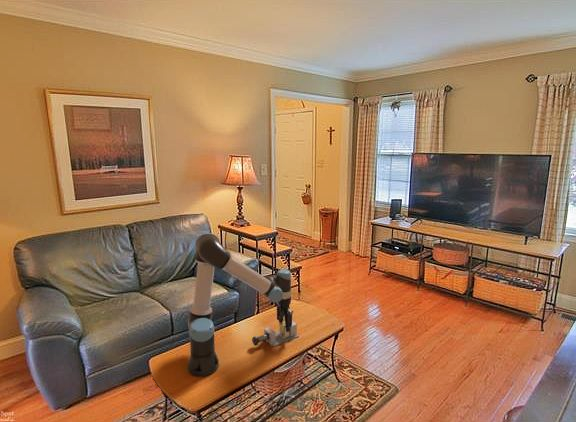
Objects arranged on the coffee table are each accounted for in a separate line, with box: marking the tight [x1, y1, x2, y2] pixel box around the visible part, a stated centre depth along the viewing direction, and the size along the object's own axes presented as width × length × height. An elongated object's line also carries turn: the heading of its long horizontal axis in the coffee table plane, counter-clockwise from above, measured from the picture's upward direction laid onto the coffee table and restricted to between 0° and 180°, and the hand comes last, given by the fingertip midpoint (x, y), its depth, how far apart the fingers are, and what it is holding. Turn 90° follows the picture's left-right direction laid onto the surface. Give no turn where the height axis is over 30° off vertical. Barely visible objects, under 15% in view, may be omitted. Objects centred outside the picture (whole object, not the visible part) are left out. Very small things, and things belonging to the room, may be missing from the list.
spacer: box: [279, 320, 290, 337], centre depth 198 cm, size 4×4×7 cm
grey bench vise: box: [263, 320, 299, 348], centre depth 196 cm, size 18×11×7 cm, turn 126°
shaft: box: [251, 333, 269, 347], centre depth 189 cm, size 12×5×5 cm, turn 126°
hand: (284, 334), depth 198 cm, fingers closed on spacer, 4 cm apart
